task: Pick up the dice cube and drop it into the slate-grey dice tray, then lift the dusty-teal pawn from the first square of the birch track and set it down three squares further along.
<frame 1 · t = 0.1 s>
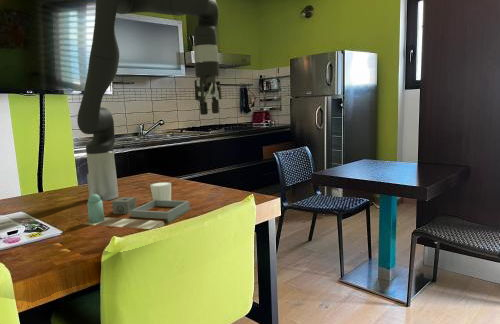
hand: (210, 114, 119), 29 cm above the table, tool pointing down, fingers open, 8 cm apart
pawn: (96, 220, 106), point 1 cm above the table, touching track
tray: (161, 215, 112), on the table
shot glass: (162, 204, 125), on the table
track: (123, 226, 103), on the table
dice cube: (125, 215, 115), on the table
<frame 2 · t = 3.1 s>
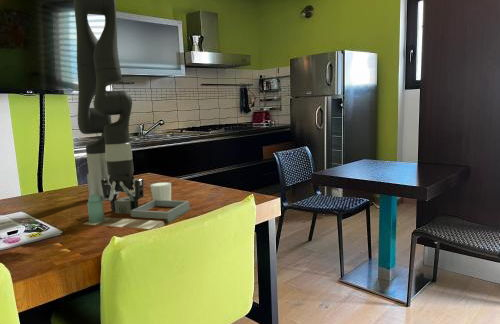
hand: (125, 211, 115), 1 cm above the table, tool pointing down, fingers open, 6 cm apart
dice cube: (127, 215, 115), on the table, touching gripper
everything else where it was.
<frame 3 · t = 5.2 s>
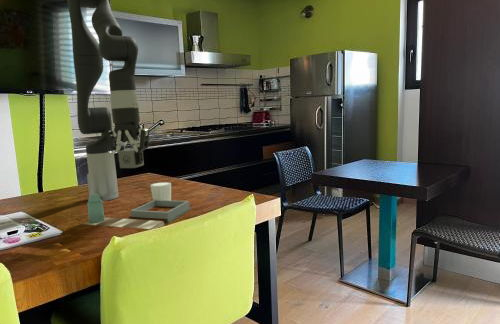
hand: (131, 164, 111), 16 cm above the table, tool pointing down, fingers closed on dice cube, 5 cm apart
dice cube: (132, 167, 112), point 15 cm above the table, touching gripper
everything else where it was.
when the fingers open (6 cm above the table, at t = 6.9 s): dice cube drops 4 cm, resting on tray.
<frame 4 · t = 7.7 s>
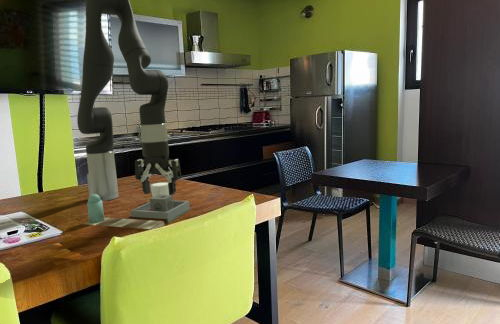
hand: (159, 194, 111), 7 cm above the table, tool pointing down, fingers open, 8 cm apart
dice cube: (162, 213, 113), resting on tray
everything else where it was.
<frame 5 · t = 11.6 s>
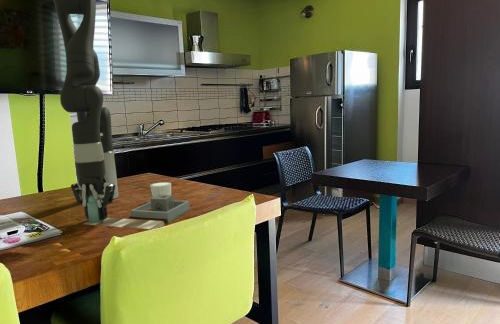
hand: (96, 218, 106), 2 cm above the table, tool pointing down, fingers closed on pawn, 4 cm apart
pawn: (96, 220, 106), point 1 cm above the table, touching gripper, track
everything else where it was.
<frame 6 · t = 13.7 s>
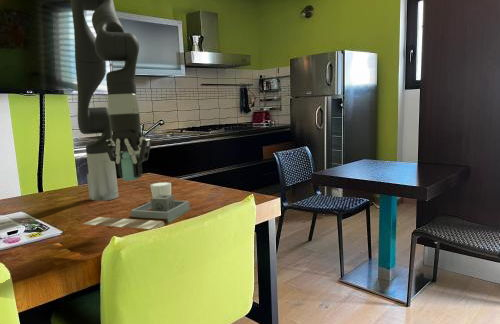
hand: (130, 176, 100), 14 cm above the table, tool pointing down, fingers closed on pawn, 4 cm apart
pawn: (130, 179, 100), point 14 cm above the table, touching gripper
everything else where it was.
when the fingers open (2 cm above the table, at t = 16.1 s): pawn stays where it is, resting on track.
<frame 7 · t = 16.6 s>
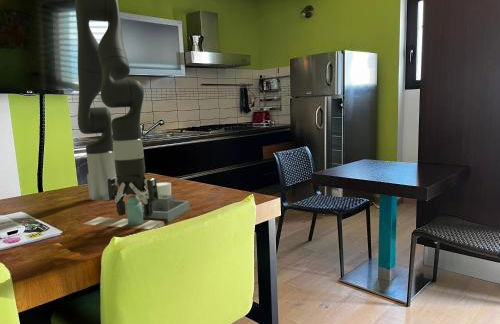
hand: (135, 215, 101), 3 cm above the table, tool pointing down, fingers open, 8 cm apart
pawn: (135, 223, 102), point 1 cm above the table, touching track
everything else where it was.
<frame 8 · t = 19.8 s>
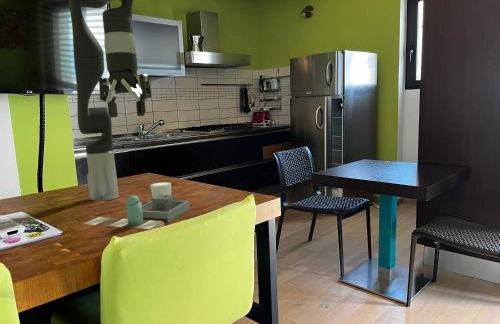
hand: (127, 116, 98), 30 cm above the table, tool pointing down, fingers open, 8 cm apart
nothing on the table moved.
at the end: dice cube inside the target area on the tray (1.2 cm from its centre), point 0.4 cm above the tray's base; pawn 0.0 cm from the target spot, point 1.2 cm above the table; pawn tilted 1° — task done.
